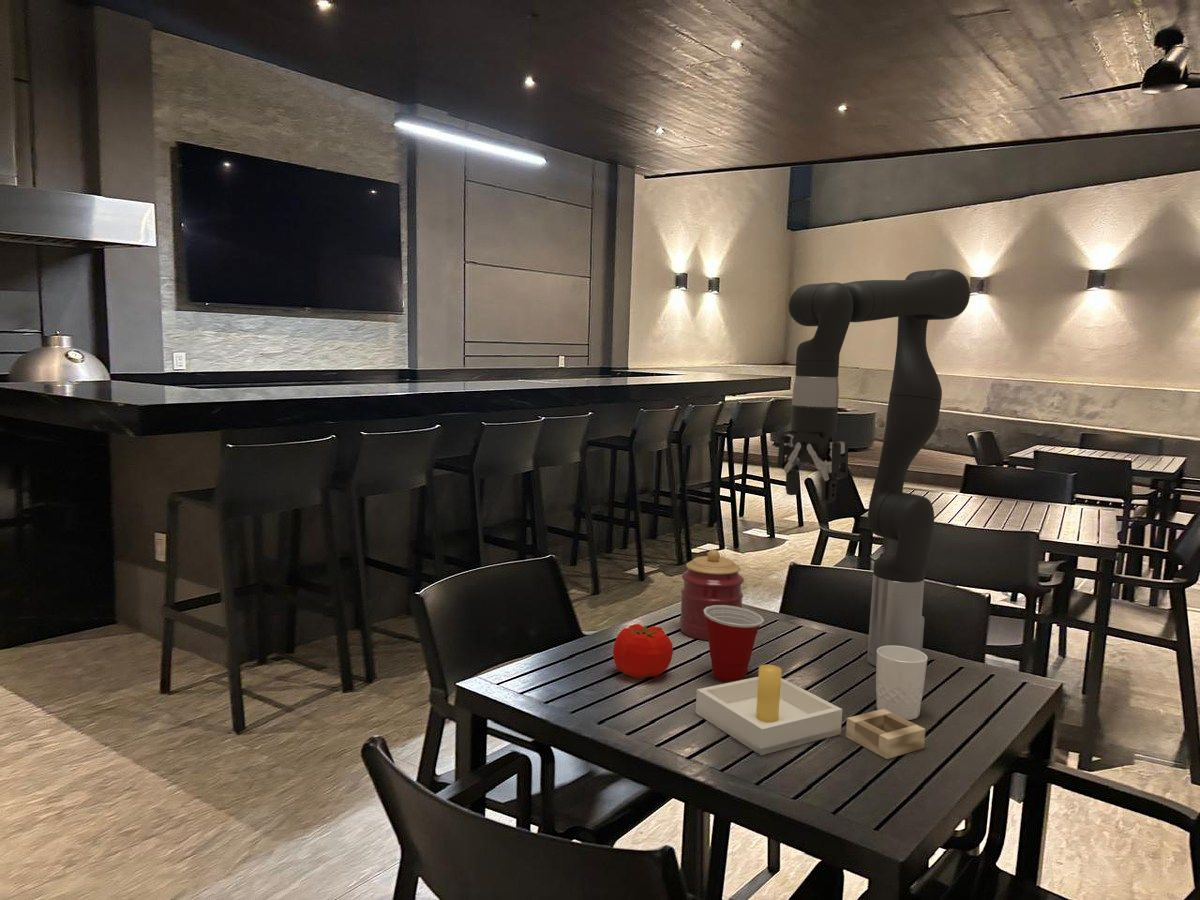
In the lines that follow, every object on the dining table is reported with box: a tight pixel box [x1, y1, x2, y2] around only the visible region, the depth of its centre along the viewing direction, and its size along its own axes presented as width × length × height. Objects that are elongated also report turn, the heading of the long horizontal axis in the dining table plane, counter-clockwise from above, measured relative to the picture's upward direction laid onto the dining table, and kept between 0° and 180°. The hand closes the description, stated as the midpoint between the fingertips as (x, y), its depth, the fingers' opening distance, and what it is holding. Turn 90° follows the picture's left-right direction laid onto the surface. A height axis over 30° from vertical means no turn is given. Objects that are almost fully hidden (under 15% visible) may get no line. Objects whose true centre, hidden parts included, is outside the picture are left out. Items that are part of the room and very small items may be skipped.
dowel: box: [756, 664, 783, 722], centre depth 130 cm, size 4×4×8 cm
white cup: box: [875, 645, 929, 721], centre depth 137 cm, size 8×8×10 cm
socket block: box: [845, 709, 926, 760], centre depth 126 cm, size 8×8×3 cm
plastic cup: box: [704, 605, 765, 683], centre depth 149 cm, size 11×11×12 cm
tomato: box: [612, 623, 674, 679], centre depth 150 cm, size 11×11×9 cm
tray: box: [695, 676, 843, 756], centre depth 131 cm, size 16×16×4 cm
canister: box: [679, 549, 745, 641], centre depth 174 cm, size 13×13×18 cm
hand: (809, 498), depth 141 cm, fingers open, 8 cm apart
